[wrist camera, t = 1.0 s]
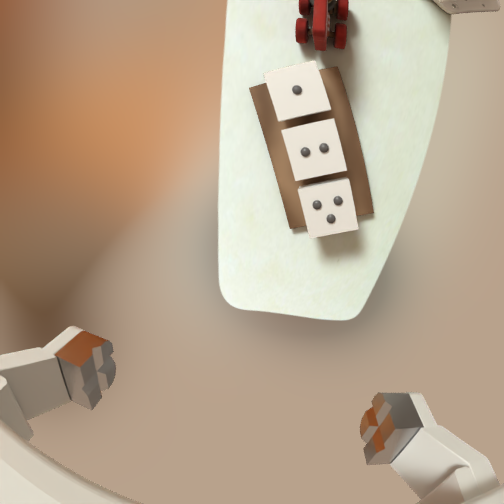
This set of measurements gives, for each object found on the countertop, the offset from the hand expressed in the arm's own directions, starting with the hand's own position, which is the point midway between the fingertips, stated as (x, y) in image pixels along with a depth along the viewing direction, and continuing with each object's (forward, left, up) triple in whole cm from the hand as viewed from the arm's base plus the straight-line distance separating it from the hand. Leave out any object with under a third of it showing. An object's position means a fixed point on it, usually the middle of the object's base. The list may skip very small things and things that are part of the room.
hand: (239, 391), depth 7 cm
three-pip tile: (-3, +4, -34) cm, 34 cm away
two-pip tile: (-3, -4, -34) cm, 34 cm away
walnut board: (-3, -4, -37) cm, 37 cm away
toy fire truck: (-10, -23, -37) cm, 45 cm away
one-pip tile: (-3, -12, -34) cm, 36 cm away
